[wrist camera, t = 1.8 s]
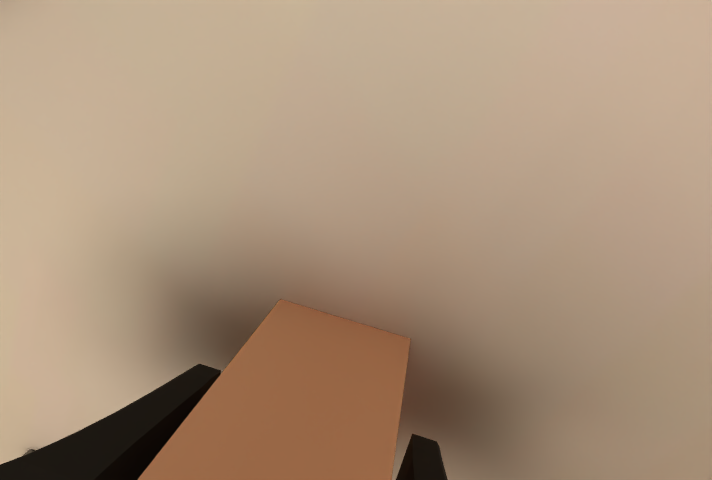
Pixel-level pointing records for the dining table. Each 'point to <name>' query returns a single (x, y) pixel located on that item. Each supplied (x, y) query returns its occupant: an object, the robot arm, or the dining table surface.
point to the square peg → (296, 405)
